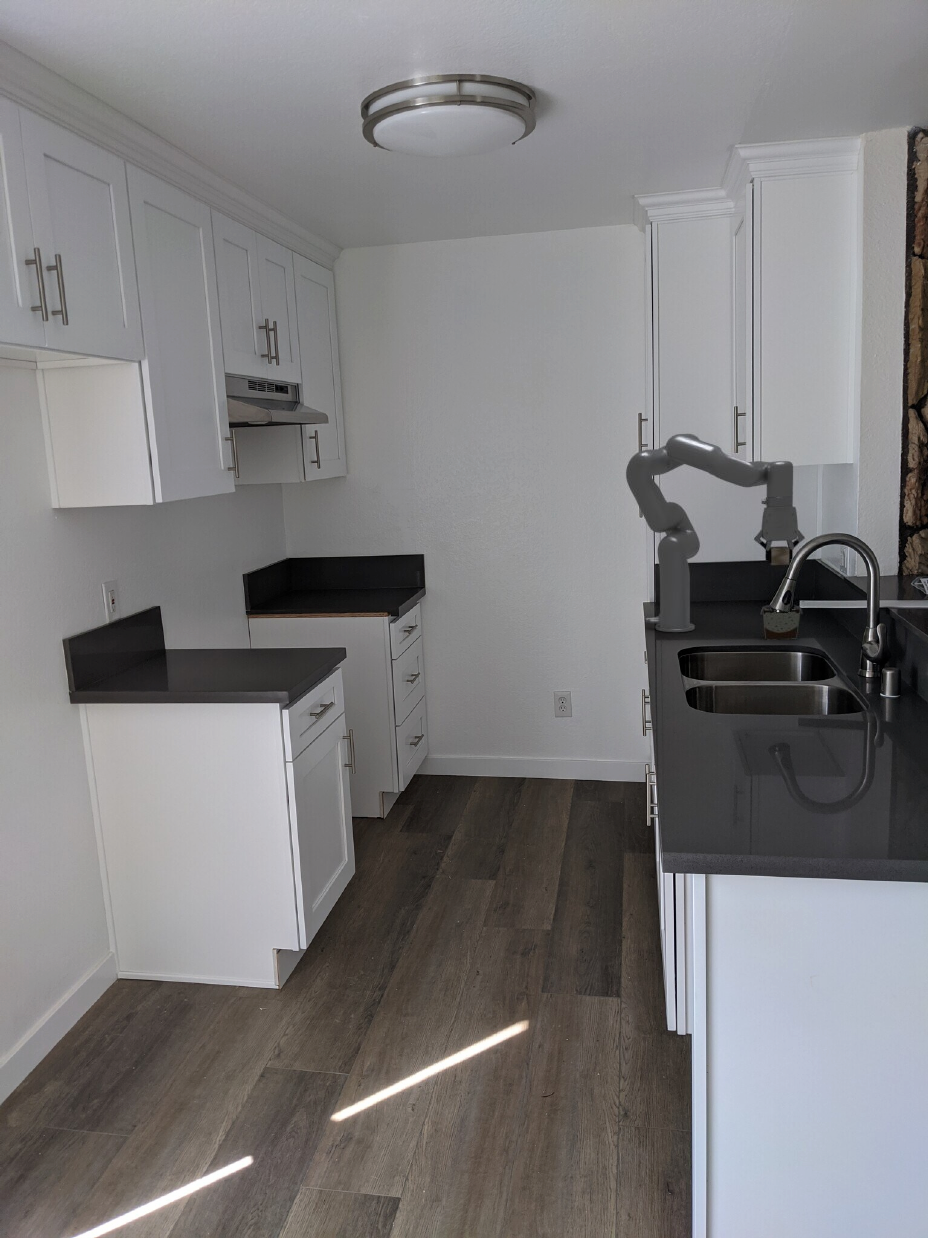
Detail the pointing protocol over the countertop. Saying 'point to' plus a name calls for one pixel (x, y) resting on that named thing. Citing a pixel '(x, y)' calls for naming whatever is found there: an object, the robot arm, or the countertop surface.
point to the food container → (781, 623)
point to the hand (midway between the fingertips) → (778, 562)
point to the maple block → (779, 555)
